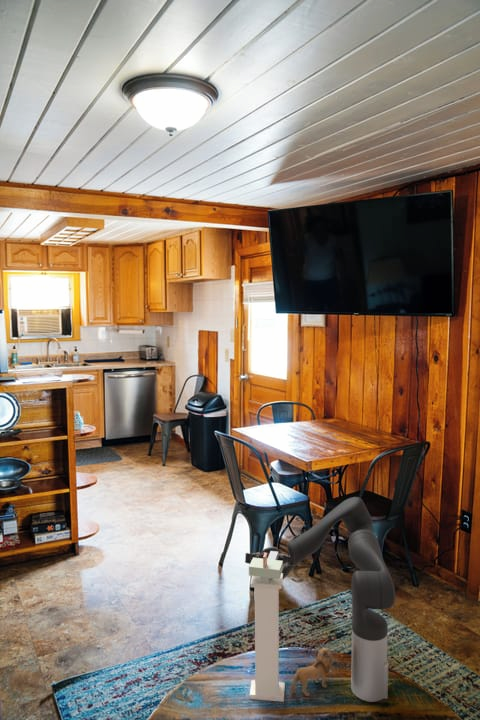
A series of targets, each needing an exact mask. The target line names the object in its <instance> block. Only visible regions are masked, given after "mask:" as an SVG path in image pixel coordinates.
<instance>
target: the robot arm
mask: <svg viewBox="0 0 480 720" xmlns="http://www.w3.org/2000/svg"><path fill="white" fill-rule="evenodd" d="M369 512H370V511H368V508H367V506H366V504H365V502H364V501H363V499H362V498H361V497H358V496H353V497H352V496H351V497H349V498H347V499H345V500H343V501H342V502H341V503H339V504H338V505H337V506H335V507H334V508H333V509H332V510H331V511H330V512H327V514H326V515H325V516H323V517H322V519H320V520H319V521H317V523H315V524H314V525H313V526H312V527H310V528H309V529H308V530H306V531H305V532H303V533H301V534H300V535H297V536H296V537H295V538H293V539H292V540H290V541H289V542H288V543H287V544H286V548H287V551H288V554H285V553H282V551H281V550H280V549H279V548H278V546H268V547H266V548H264V549H263V550H262V551H261V552H252V553H249V552H246V553H245V559H244V560H245V561H244V563H245V564H248V565H250V563H251V561H252V559H253V558H262V559H263V556H264V553H267V559H268V556H269V554H270V551H277V552H278V560H280V561H283V571H282V573H283V580H284V579H285V578H287V576H288V575H289V574H290V573H291V571H293V569H294V568H295V567H296V566H298V565H299V563H300V562H302V561H303V560H305V559H306V558H308V557H310V556H311V555H313V554H315V553H316V552H317V551H318V550H319V549H320V548H321V546H322V545H323V543H324V542H325V540H326V539H327V536H328V534H329V533H330V531H331V530H332V528H333V527H334V526H335V525H336V523H338V522H340V520H341V521H342V523H343V525H344V527H345V528H346V530H347V531H348V533H349V535H350V536H349V537H348V543H347V547H348V553H349V556H350V560H351V562H352V563H353V564H354V565H355V567H356V568H358V569H359V570H355V571H354V572H353V573H352V576H351V600H352V601H351V604H352V606H351V609H352V610H351V612H352V613H351V616H352V617H351V618H352V619H351V658H350V659H351V660H350V661H351V663H350V664H351V667H350V669H351V670H350V674H351V675H350V677H351V678H350V689H351V691H352V694H353V695H354V696H356V697H357V698H358V699H360V700H362V701H365V702H369V703H372V702H373V703H375V702H379V701H382V700H384V699H386V700H387V699H388V698H389V697H388V695H389V693H388V691H389V685H388V684H389V662H388V634H389V631H388V629H389V628H388V627H389V625H388V622H387V620H386V618H385V617H384V616H383V615H381V614H380V613H378V612H376V611H374V610H389V609H391V608H392V607H393V606H394V604H395V601H396V590H395V584H394V581H393V577H392V576H391V574H390V572H389V569H388V567H387V565H386V563H385V561H384V558H383V554H382V550H381V547H380V543H379V540H378V537H377V536H376V535H375V533H374V528H373V519H372V517H371V514H370V513H369Z"/></svg>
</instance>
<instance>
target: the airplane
mask: <svg viewBox="0 0 480 720" xmlns="http://www.w3.org/2000/svg"><path fill="white" fill-rule="evenodd" d="M282 571H283V561H280V560H278V552H277V551H270V554H269V556H268V559H267V553H264V556H263V559H262V558H253V559H252V561H251V563H250V564H248V576H251V577H252V576H258V577H260V582H261V583H269V581H270V579H271V578H274V579H280V576H281V573H282Z"/></svg>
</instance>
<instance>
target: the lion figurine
mask: <svg viewBox="0 0 480 720" xmlns="http://www.w3.org/2000/svg"><path fill="white" fill-rule="evenodd" d="M317 653H318V654H317V656H316V659H315V662H314V663H313V664H312V665H311V664H310V665H309V666H303V667H299V668H298V669H297V670H296V671H295V674H294V677H293V680H292V681H293V682H292V683H291V685H290V692H291V693H292V694H291V695H290V696H291V697H290V699H291V700H292V699H294V698H295V693H296V689H295V688H296V685H297V684H298V683H300V685H301V687H302V688H301V691H302V694H304V695H305V696H306V697H310V696H311V693H310V692H308V691H307V686H308V684H309V681H314V683H316V684H317V683H320V680H319V678H320V679H321V685H322V687H323V688H327V687H328V685H327V683H326V680H327V675H328V674H329V673H330V670H331V668H332V663H333V662H332V661H333V654H332V652H331V650H330V648H328V647H322V648H321V649H318V652H317Z"/></svg>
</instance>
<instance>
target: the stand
mask: <svg viewBox="0 0 480 720" xmlns="http://www.w3.org/2000/svg"><path fill="white" fill-rule="evenodd" d="M250 579H251V580H250V582H249V583H250V588H254V652H255V653H254V664H255V665H254V674H255V675H254V679H251V682H250V690H249V700H257V701H258V700H259V701H270V702H272V701H273V702H283V703H284V702H285V689H286V687H285V685H286V684H285V682H284V681H280V666H279V665H280V652H279V651H280V648H279V647H280V644H279V643H280V629H279V627H280V625H279V622H280V621H279V620H280V618H279V617H280V615H279V613H280V611H279V609H280V607H279V606H280V602H279V601H280V599H279V595H280V590H282V588H283V580H284V579H283V573H281V576H280V579H274V578H271V579H270V581H269V583H261V582H260V577H258V576H251V578H250Z"/></svg>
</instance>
